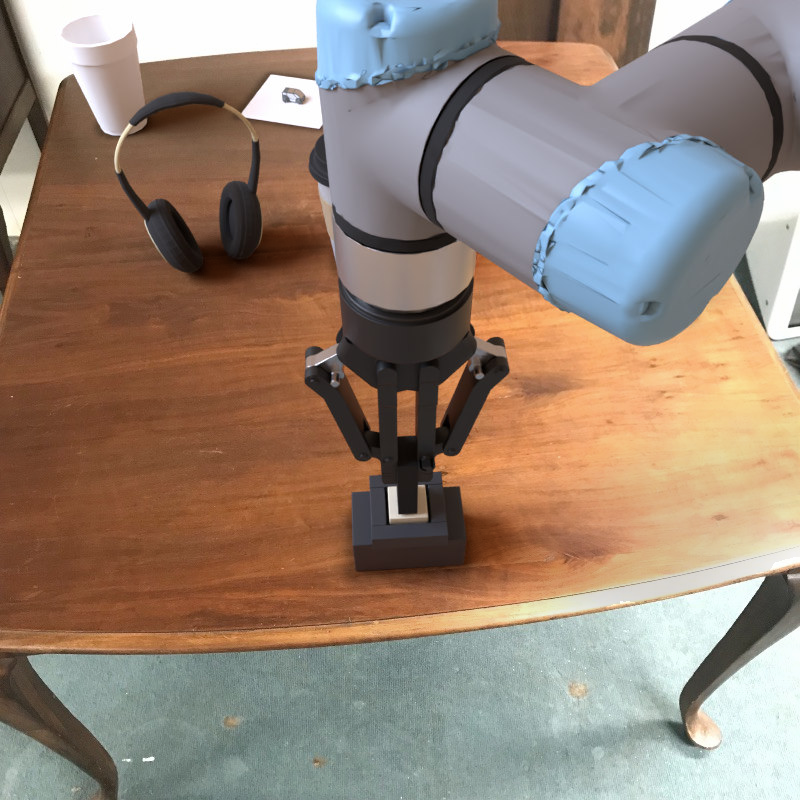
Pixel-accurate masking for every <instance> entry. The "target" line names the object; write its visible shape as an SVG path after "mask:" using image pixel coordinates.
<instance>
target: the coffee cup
mask: <svg viewBox="0 0 800 800" xmlns="http://www.w3.org/2000/svg"><path fill="white" fill-rule="evenodd" d="M308 171H309V174H310V175H311V177H312V178H313V179H314V180H315V181H317V184H318V185H317V191H318V196H319V201H320V204H321V209H322V213H323V218H324V222H325V227H326V231H327V233H328V236H329V240H330V243H331V247H332V251H333V256H334V260H335V261H336V255H335V245H334V235H333V225H332V215H331V211H332V202H331V197H330V187H329V177H328V168H327V159H326V150H325V141H324V133H322V134H321V135H320V136H319V137H318V138H317V139H316V141H315V144H314V147H313V148H312V149H311V151H310V153H309V158H308Z"/></svg>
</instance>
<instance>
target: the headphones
mask: <svg viewBox="0 0 800 800" xmlns="http://www.w3.org/2000/svg"><path fill="white" fill-rule="evenodd" d="M189 105H190V106H191V105H201V106H202V105H204V106H211V107H216V108H219V109H222V108H223V109H225V110H226V111H228V112H230V113H232V114H234V115H235V116H236V117H238V118H239V119H240V120H241V121H242V122H243V124H244V125H246V127H247V129H248V130H249V132H250V134H251V153H252V154H251V162H250V163H251V165H250V170H249V175H248V180H247V183H246V181H243V180H231V181H229V182H227V183H226V184H225V186H224V187H223V188H222V191H221V193H220V199H219V208H218V209H219V211H218V223H219V232H220V239H221V243H222V247H223V249H224V251H225V253H226V254H227V255H228V256H229V257H230V258H232V259H235V260H245V259H248V258H249V257H250V256H251V255H252V254H253V253H254V252H255V251H256V249H257V248H259V246H260V244H261V241H262V237H263V228H264V227H263V226H264V225H263V224H264V221H263V220H264V218H263V209H262V204H261V200H260V197H259V196H258V194H257V192H258V185H259V178H260V167H261V148H260V147H261V146H260V139H259V138H258V135H257V132H256V130H255V128H254V126H253V125H252V124H251V122H250V121H249V120H248V118H245V117H244V116H243V115H242V114H241V113H242V112H240V111H239V110H237V109H236V108H235V107H233V106H231V105H229V104H227V103H226V102H225V100H222V99H220V98H218V97H215V96H214V95H211V94H207V93H202V92H197V91H189V90H187V91H176V92H169V93H167V94H163V95H161V96H158V97H155V98H154V99H152V100H150V101H148V103H145V106H144V107H142V108H141V109H139V110H138V111H137V113H136V114H135V115H134V116H133V117H132V118H131V120H130V121H129V124H128V126H127V127H126V129H125V130H124V132H123V133H122V135H121V136H120V137H119V139H118V141H117V144H116V147H115V150H114V151H115V152H114V169H115V170H114V172H115V175H116V177H117V179H118V182H119V184H120V186H121V188H122V190H123V192H124V193H125V195H126V196H127V198H128V199H129V201H130V202H131V203H132V205H133V207H134V208H135V209H136V210H137V212H138V213H139V214H140V216H141V217H142V219H143V220H144V226H145V229H146V231H147V234H148V235H149V238H150V240H151V242H152V243H153V245H154V247H155V248H156V250H157V252H158V253H159V254H160V256H161V258H163V260H164V261H165V262H166V263H167V264H168V265H169V266H170V267H171V268H172V269H173V270H177V271H180V272H183V273H186V274H191V273H195V272H197V271H198V270H200V269H201V268H202V267H203V264H204V256H203V253H202V250H201V249H200V246H199V244H198V242H197V239H196V238H195V236H194V234H193V233H192V231H191V229H190V228H189V226H188V224H187V222H186V221H185V219H184V218H183V216H182V215H181V214H180V212H179V210H177V209H176V208H175V206H174V205H173V204H172V202H170V201H169V200H167V199H165V198H156V199H154V200H152V201H150V202H149V203H148V204H146V203H145V202H144V201H143V200H142V199H141V197H140V196H139V195H138V194H137V193H136V191H135V189H134V188H133V186H131V184H130V182H129V180H128V178H127V175H125V173H124V170H123V169H122V168H121V164H120V157H121V150H122V147H123V145H124V142H125V140H126V139H127V136H129V135H130V134H129V132H130V131H131V130H132V128H133V127H134V126H137V125H138V124H139V123H140V122H142V121H143V120H145V119H146V118H147V119H149V118H150V117H152V116H154V115H156V114H158V113H159V112H164V111H166V110H170V109H171V110H172V109H177V108H181V107H185V106H189Z"/></svg>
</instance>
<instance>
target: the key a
mask: <svg viewBox="0 0 800 800" xmlns="http://www.w3.org/2000/svg"><path fill="white" fill-rule="evenodd" d="M388 505H389V522H390V525H401V524H418V523H428V511H427V500H426V489H425V485H418V510H417V514H399V515H398V502H397V487H396V486H394V487H388Z"/></svg>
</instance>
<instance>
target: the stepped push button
mask: <svg viewBox="0 0 800 800" xmlns="http://www.w3.org/2000/svg"><path fill="white" fill-rule="evenodd" d="M442 474H443V473H442V471H433V478H432V480H431V481H430V482H418V485H425V489H426V500H427V511H428V523H418V524H401V525H390V522H389V505H388V487H394V486H396V484H384V483H383V482H382V478H381V474H375V475H373V474H372V475H368V483H369V485H368V486H369V490H366V491H363V490H362V491H351V497H350V499H351V538H352V539H351V540H352V542H351V543H352V553H353V560H354V561H353V563H354V571H356V572H362V571H364V572H365V571H378V570H379V571H380V570H398V569H399V570H400V569H415V568H431V567H432V568H433V567H447V566H463V565H464V564H465V556H466V547H467V532H466V531H467V530H466V524H465V517H464V516H465V515H464V508H463V500H462V493H461V486H460V485H455V486H444V484H443V475H442Z"/></svg>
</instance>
